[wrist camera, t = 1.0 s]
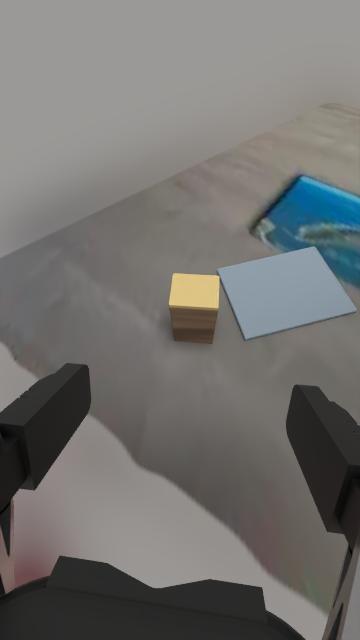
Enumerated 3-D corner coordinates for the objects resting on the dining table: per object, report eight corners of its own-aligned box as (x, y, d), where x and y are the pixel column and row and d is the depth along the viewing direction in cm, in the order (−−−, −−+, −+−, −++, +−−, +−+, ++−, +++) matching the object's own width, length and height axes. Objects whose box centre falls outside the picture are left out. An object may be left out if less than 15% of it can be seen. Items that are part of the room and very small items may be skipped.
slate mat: (312, 248, 40) (314, 246, 40) (355, 312, 35) (357, 310, 34) (216, 271, 39) (217, 268, 39) (244, 340, 34) (245, 338, 33)
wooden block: (211, 343, 34) (218, 308, 25) (174, 340, 34) (168, 304, 26) (213, 317, 36) (219, 275, 27) (177, 314, 36) (173, 273, 28)
